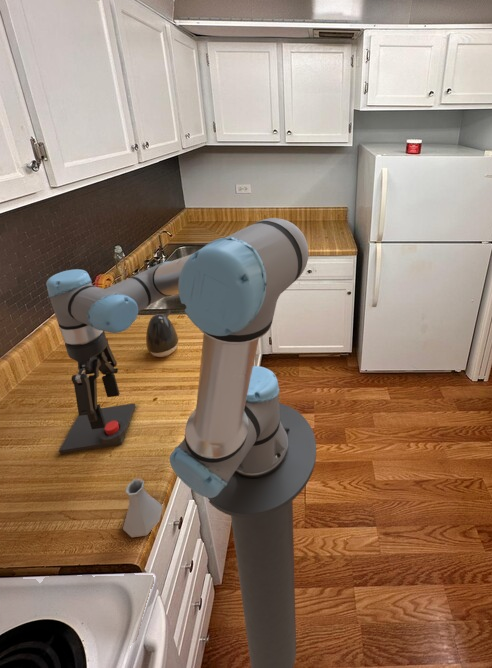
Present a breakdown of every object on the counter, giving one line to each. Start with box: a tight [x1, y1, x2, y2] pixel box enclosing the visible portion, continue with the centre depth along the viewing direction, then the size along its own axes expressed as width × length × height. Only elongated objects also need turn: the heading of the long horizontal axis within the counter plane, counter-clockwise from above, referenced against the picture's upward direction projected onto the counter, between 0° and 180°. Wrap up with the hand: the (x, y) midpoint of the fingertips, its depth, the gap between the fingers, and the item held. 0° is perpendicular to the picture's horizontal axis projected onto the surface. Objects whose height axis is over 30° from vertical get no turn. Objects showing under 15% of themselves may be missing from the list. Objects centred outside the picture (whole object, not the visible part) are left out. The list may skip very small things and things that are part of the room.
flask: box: [122, 478, 164, 538], centre depth 67 cm, size 7×7×10 cm
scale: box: [58, 402, 136, 455], centre depth 88 cm, size 14×12×3 cm
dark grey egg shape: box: [145, 309, 179, 358], centre depth 115 cm, size 10×10×15 cm
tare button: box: [104, 421, 119, 435], centre depth 85 cm, size 3×3×2 cm
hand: (106, 410), depth 83 cm, fingers open, 9 cm apart
